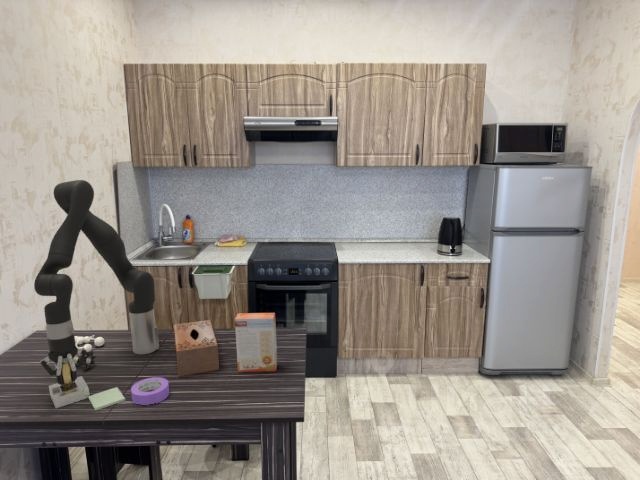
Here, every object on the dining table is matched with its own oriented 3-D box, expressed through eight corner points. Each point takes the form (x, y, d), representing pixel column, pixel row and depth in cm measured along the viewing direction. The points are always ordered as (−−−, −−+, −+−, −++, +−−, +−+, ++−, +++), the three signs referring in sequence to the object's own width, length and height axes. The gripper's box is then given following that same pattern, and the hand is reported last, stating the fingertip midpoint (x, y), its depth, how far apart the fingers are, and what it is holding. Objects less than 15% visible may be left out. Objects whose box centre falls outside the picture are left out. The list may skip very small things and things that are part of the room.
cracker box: (277, 364, 170) (275, 311, 166) (275, 372, 164) (273, 318, 160) (240, 364, 171) (237, 312, 166) (237, 372, 165) (234, 318, 160)
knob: (74, 386, 153) (69, 352, 150) (76, 391, 150) (71, 356, 147) (60, 390, 150) (55, 355, 148) (63, 395, 147) (57, 360, 145)
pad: (117, 389, 155) (117, 386, 154) (125, 400, 148) (124, 398, 148) (88, 398, 149) (88, 396, 149) (95, 410, 142) (95, 408, 142)
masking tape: (134, 390, 154) (132, 379, 154) (170, 384, 157) (169, 374, 157) (130, 408, 143) (128, 398, 143) (168, 402, 146) (167, 392, 146)
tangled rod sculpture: (46, 353, 185) (44, 344, 184) (77, 336, 198) (75, 328, 196) (78, 361, 177) (76, 351, 176) (109, 343, 189) (107, 334, 188)
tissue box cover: (219, 370, 167) (217, 345, 165) (178, 377, 162) (176, 351, 160) (211, 342, 191) (209, 319, 189) (175, 347, 186) (173, 324, 184)
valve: (56, 370, 168) (84, 373, 166) (54, 353, 167) (82, 356, 165) (69, 362, 175) (96, 364, 172) (67, 346, 173) (94, 348, 171)
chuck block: (83, 385, 157) (81, 374, 156) (89, 397, 150) (88, 386, 149) (50, 395, 151) (48, 384, 150) (55, 408, 144) (53, 396, 143)
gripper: (82, 324, 153) (88, 371, 157) (33, 335, 144) (41, 385, 148) (87, 331, 147) (93, 380, 151) (37, 343, 139) (44, 394, 142)
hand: (67, 382), depth 149 cm, fingers closed on knob, 3 cm apart
